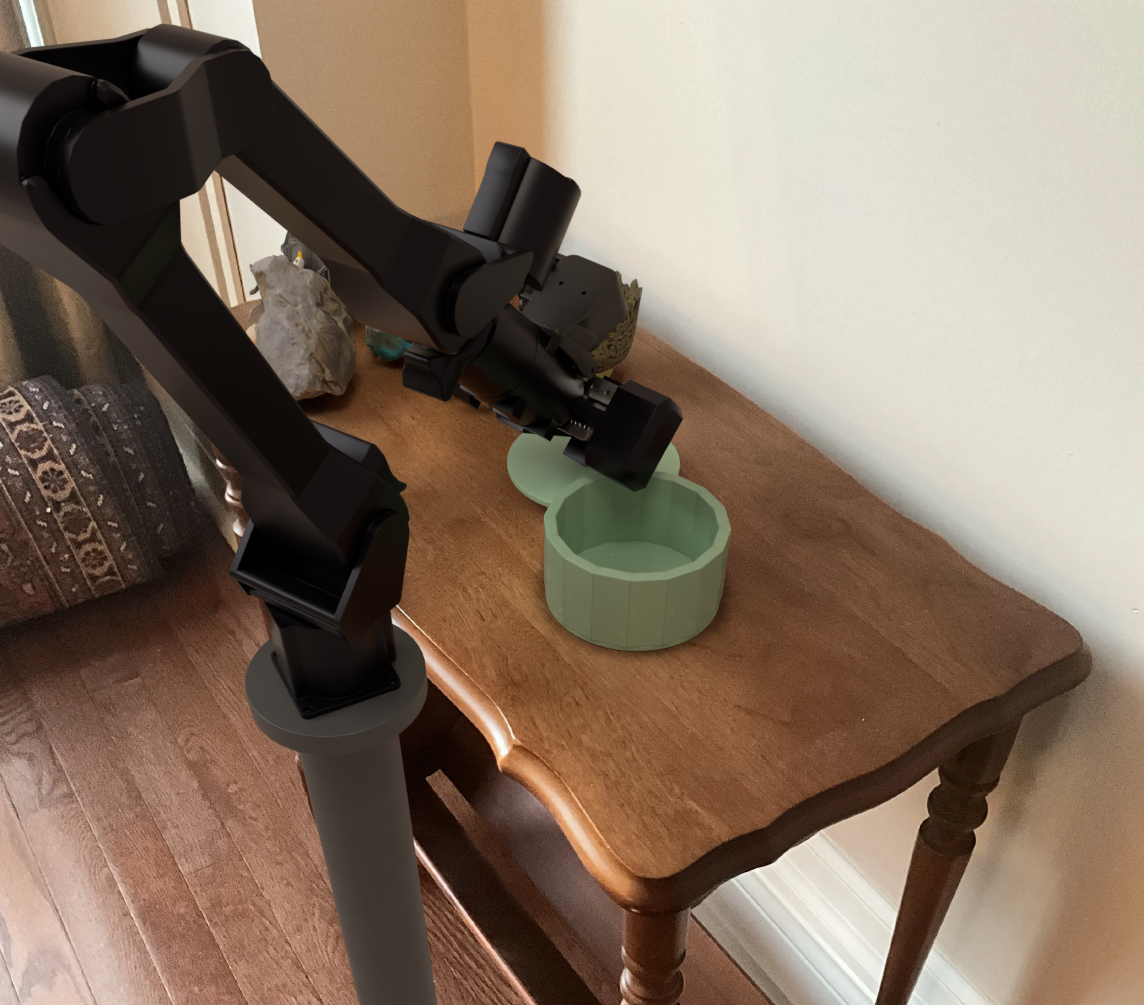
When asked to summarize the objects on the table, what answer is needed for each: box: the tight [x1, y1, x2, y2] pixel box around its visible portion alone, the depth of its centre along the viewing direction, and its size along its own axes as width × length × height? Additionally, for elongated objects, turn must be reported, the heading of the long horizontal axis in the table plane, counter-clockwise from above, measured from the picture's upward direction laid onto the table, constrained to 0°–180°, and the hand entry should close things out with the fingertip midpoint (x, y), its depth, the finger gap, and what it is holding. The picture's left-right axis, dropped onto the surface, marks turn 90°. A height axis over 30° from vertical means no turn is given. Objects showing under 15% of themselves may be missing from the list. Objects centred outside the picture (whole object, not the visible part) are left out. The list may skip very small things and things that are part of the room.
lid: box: [506, 395, 681, 508], centre depth 86 cm, size 13×13×6 cm
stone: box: [249, 254, 357, 402], centre depth 94 cm, size 11×7×10 cm
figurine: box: [364, 325, 413, 362], centre depth 97 cm, size 12×9×8 cm
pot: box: [543, 471, 732, 652], centre depth 78 cm, size 12×12×6 cm
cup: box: [583, 270, 643, 381], centre depth 96 cm, size 8×7×8 cm
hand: (606, 438), depth 87 cm, fingers closed on lid, 2 cm apart
